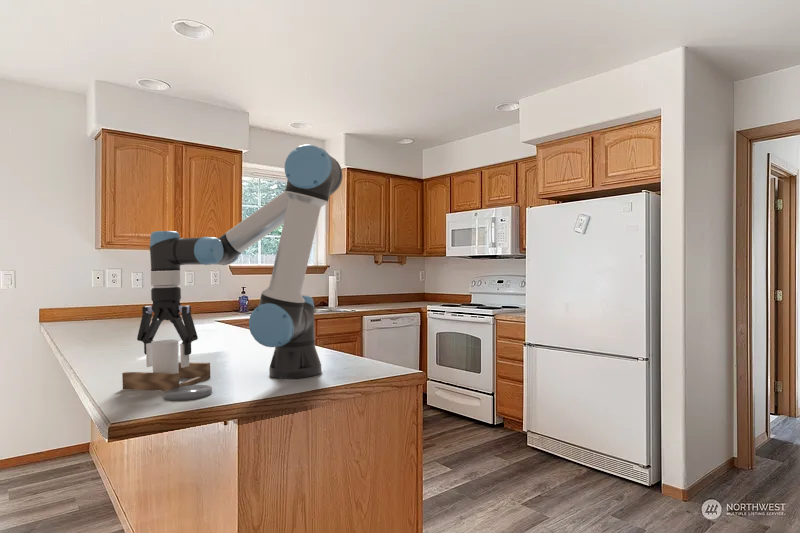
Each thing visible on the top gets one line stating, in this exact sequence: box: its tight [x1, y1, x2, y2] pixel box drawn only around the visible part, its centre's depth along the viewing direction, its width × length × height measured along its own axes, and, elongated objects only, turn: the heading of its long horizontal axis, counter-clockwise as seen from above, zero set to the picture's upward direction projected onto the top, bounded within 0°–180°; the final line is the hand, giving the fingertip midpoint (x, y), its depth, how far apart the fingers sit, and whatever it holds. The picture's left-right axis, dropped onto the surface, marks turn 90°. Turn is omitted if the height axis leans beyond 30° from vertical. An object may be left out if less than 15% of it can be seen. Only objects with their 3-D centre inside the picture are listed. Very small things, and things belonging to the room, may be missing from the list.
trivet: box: [164, 384, 213, 402], centre depth 129 cm, size 11×11×1 cm
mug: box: [152, 339, 180, 373], centre depth 142 cm, size 10×7×12 cm, turn 5°
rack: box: [121, 361, 211, 392], centre depth 142 cm, size 16×16×4 cm
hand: (168, 366), depth 142 cm, fingers open, 10 cm apart
